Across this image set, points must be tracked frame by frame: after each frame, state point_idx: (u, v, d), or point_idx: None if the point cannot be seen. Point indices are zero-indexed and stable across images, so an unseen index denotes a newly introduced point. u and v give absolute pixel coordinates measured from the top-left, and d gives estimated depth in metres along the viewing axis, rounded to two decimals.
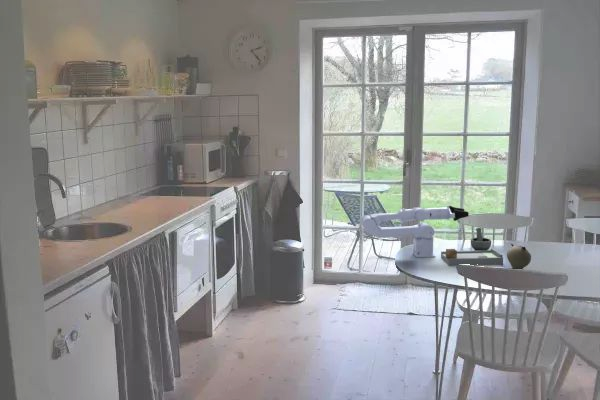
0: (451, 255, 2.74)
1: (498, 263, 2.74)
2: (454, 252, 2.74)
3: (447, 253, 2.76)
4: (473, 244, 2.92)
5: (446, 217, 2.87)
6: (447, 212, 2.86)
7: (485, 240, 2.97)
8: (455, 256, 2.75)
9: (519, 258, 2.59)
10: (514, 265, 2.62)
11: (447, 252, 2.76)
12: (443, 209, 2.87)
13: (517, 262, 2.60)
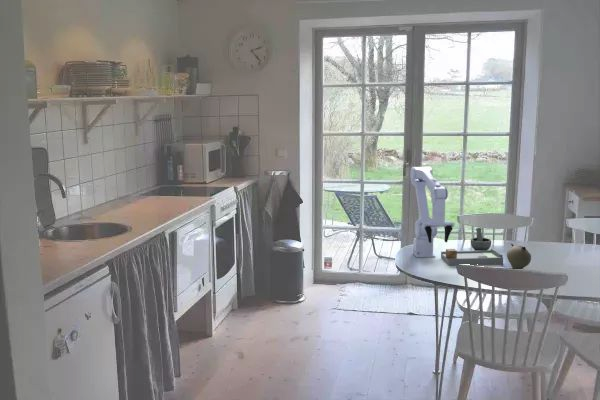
0: (451, 255, 2.74)
1: (498, 263, 2.74)
2: (454, 252, 2.74)
3: (447, 253, 2.76)
4: (473, 244, 2.92)
5: None
6: (433, 222, 2.73)
7: (485, 240, 2.97)
8: (455, 256, 2.75)
9: (519, 258, 2.59)
10: (514, 265, 2.62)
11: (447, 252, 2.76)
12: (436, 218, 2.71)
13: (517, 262, 2.60)
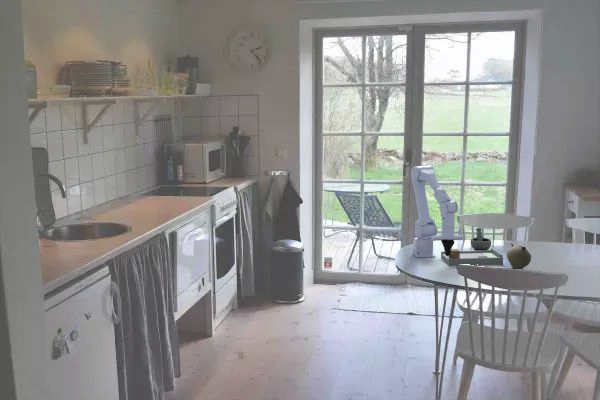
0: (454, 255, 2.74)
1: (498, 263, 2.74)
2: (457, 252, 2.74)
3: (450, 253, 2.76)
4: (473, 244, 2.92)
5: None
6: (442, 235, 2.74)
7: (485, 240, 2.97)
8: (458, 256, 2.75)
9: (520, 258, 2.59)
10: (514, 265, 2.62)
11: (450, 252, 2.76)
12: (445, 232, 2.72)
13: (517, 262, 2.60)
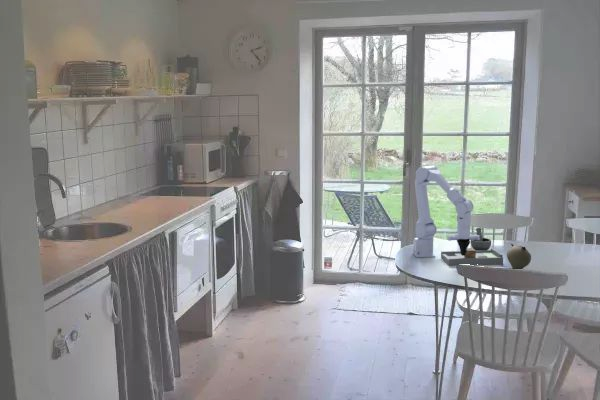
0: (470, 255, 2.75)
1: (498, 263, 2.74)
2: (473, 252, 2.75)
3: (466, 253, 2.76)
4: (473, 244, 2.92)
5: None
6: (458, 235, 2.74)
7: (485, 240, 2.97)
8: (474, 256, 2.75)
9: (519, 258, 2.59)
10: (514, 265, 2.62)
11: (466, 252, 2.76)
12: (461, 232, 2.73)
13: (517, 262, 2.60)
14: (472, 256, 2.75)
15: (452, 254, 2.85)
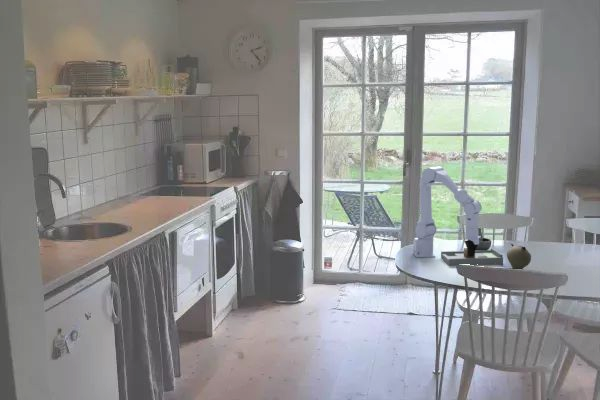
0: None
1: (498, 263, 2.74)
2: None
3: (465, 252, 2.77)
4: None
5: (469, 236, 2.71)
6: (475, 236, 2.70)
7: (485, 240, 2.97)
8: None
9: (519, 258, 2.59)
10: (514, 265, 2.62)
11: (465, 251, 2.77)
12: (477, 232, 2.71)
13: (517, 262, 2.60)
14: None
15: (452, 254, 2.85)
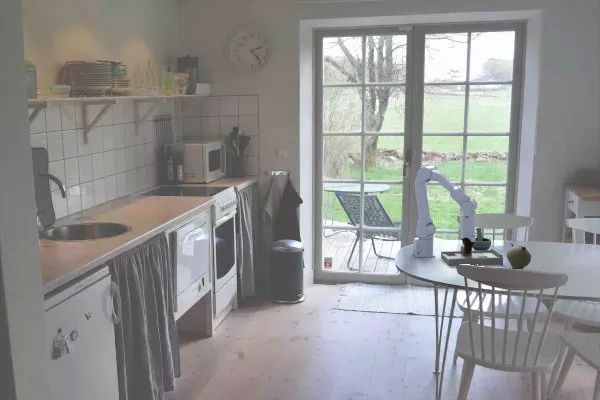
0: None
1: (498, 263, 2.74)
2: None
3: (462, 249, 2.82)
4: (473, 244, 2.92)
5: (466, 233, 2.75)
6: (472, 234, 2.75)
7: (485, 240, 2.97)
8: None
9: (519, 258, 2.59)
10: (514, 265, 2.62)
11: (462, 249, 2.82)
12: (474, 230, 2.76)
13: (517, 262, 2.60)
14: None
15: (452, 254, 2.85)
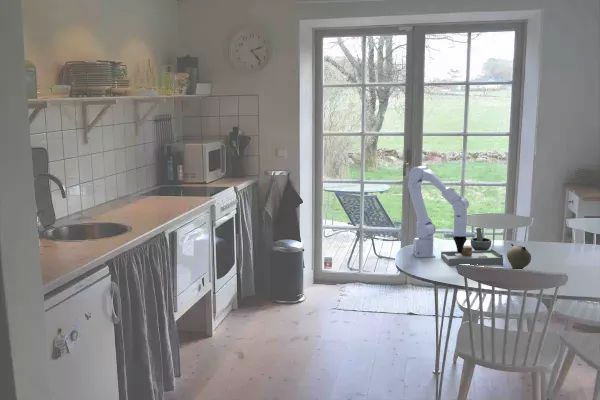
0: (466, 252, 2.80)
1: (498, 263, 2.74)
2: (469, 249, 2.80)
3: (462, 250, 2.82)
4: (473, 244, 2.92)
5: None
6: (454, 232, 2.80)
7: (485, 240, 2.97)
8: (470, 253, 2.80)
9: (519, 258, 2.59)
10: (514, 265, 2.62)
11: (462, 249, 2.82)
12: (458, 229, 2.78)
13: (517, 262, 2.60)
14: (468, 253, 2.80)
15: (452, 254, 2.85)
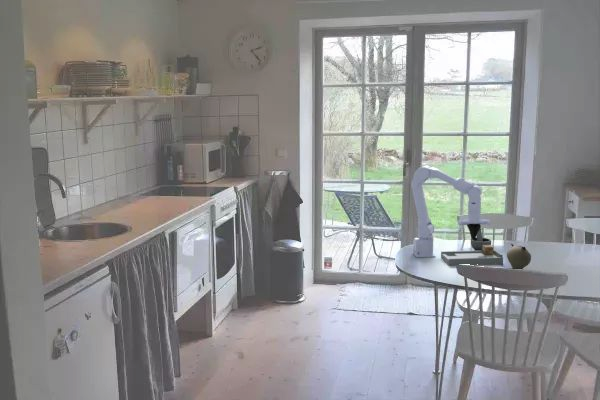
0: (488, 251, 2.81)
1: (498, 263, 2.74)
2: (491, 248, 2.81)
3: (484, 249, 2.82)
4: (473, 244, 2.92)
5: None
6: (469, 219, 2.79)
7: (485, 240, 2.97)
8: (492, 252, 2.81)
9: (519, 258, 2.59)
10: (514, 265, 2.62)
11: (484, 248, 2.82)
12: (472, 216, 2.77)
13: (517, 262, 2.60)
14: (490, 252, 2.81)
15: (452, 254, 2.85)
